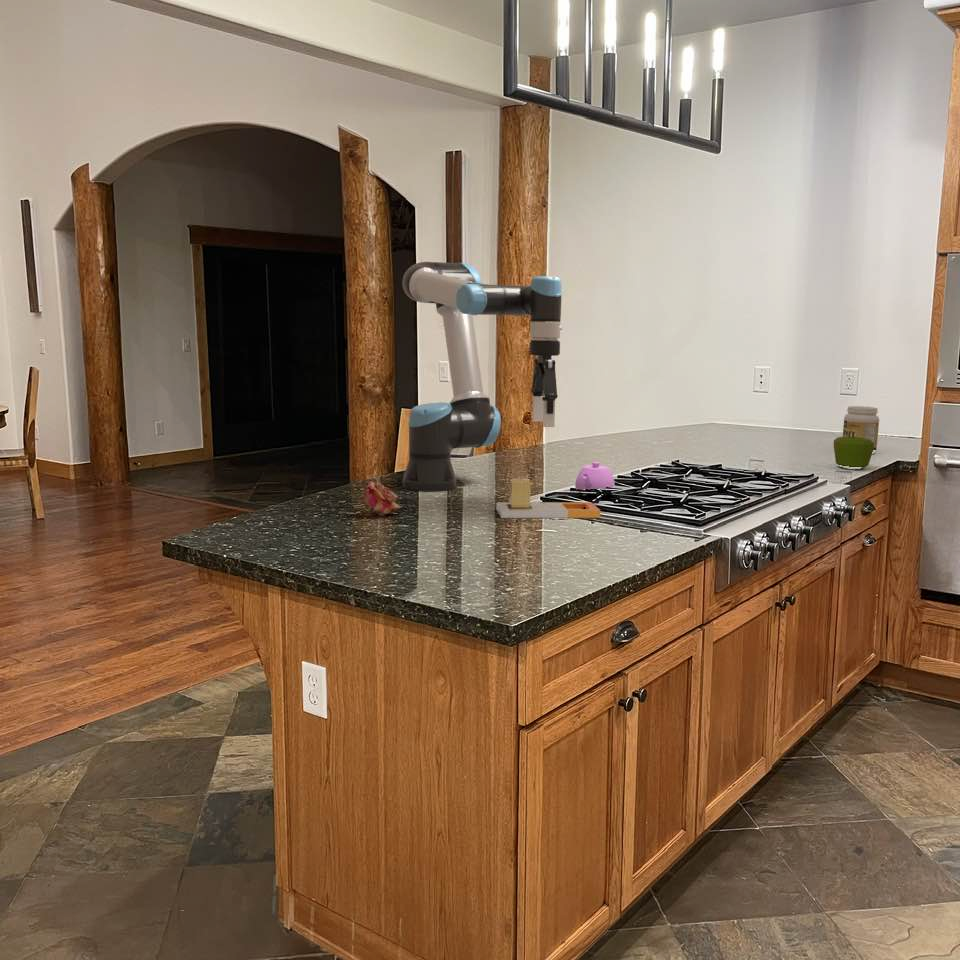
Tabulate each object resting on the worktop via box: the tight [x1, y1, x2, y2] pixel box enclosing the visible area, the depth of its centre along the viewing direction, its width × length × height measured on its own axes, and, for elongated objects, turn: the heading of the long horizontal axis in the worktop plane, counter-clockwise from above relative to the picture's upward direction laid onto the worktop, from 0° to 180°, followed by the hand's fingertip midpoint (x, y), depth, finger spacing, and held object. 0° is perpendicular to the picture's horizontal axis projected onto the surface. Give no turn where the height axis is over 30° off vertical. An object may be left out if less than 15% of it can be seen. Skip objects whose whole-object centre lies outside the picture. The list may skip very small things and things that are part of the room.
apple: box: [833, 435, 874, 468], centre depth 323 cm, size 12×12×11 cm
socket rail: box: [495, 501, 601, 519], centre depth 238 cm, size 24×10×2 cm, turn 96°
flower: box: [363, 480, 402, 518], centre depth 236 cm, size 10×9×8 cm
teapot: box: [574, 461, 616, 489], centre depth 264 cm, size 10×15×9 cm
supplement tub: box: [842, 405, 880, 451], centre depth 361 cm, size 12×12×17 cm
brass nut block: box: [508, 479, 532, 509], centre depth 237 cm, size 4×4×8 cm
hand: (543, 424), depth 247 cm, fingers open, 13 cm apart
